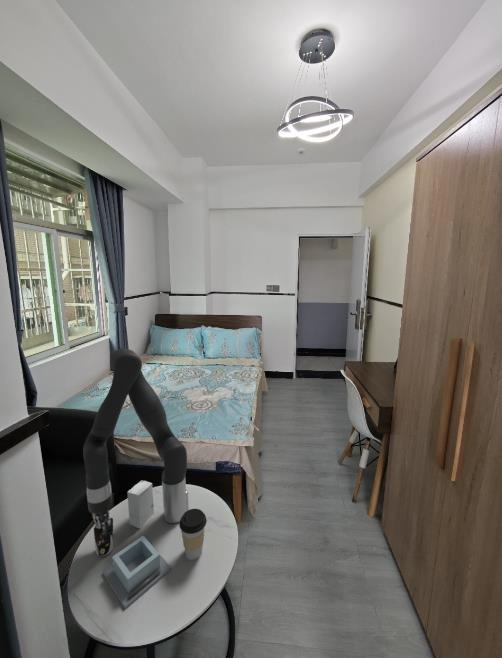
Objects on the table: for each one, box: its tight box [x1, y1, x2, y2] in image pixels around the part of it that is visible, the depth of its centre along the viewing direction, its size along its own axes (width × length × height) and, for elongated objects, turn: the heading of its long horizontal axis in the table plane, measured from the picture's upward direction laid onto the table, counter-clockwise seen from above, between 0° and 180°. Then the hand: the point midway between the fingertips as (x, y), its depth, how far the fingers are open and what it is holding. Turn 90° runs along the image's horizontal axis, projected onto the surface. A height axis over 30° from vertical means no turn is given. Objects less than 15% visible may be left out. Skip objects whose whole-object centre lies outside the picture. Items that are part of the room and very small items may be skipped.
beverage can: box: [93, 521, 115, 557], centre depth 105 cm, size 6×6×12 cm
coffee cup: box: [179, 508, 208, 561], centre depth 104 cm, size 9×9×15 cm
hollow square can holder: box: [102, 535, 172, 610], centre depth 98 cm, size 16×16×6 cm
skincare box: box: [126, 479, 155, 530], centre depth 118 cm, size 8×6×15 cm
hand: (103, 535), depth 105 cm, fingers closed on beverage can, 5 cm apart
